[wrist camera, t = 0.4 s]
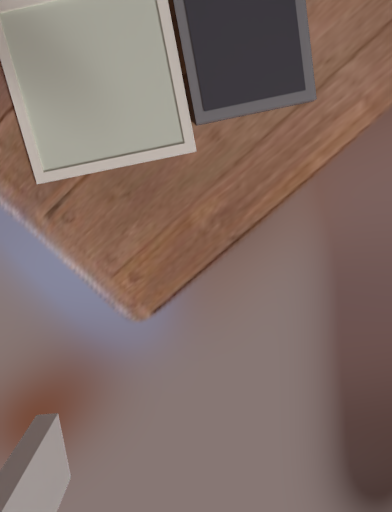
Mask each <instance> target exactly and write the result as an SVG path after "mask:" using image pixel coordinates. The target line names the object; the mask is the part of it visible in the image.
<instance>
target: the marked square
mask: <svg viewBox="0 0 392 512" xmlns="http://www.w3.org/2000/svg"><path fill="white" fill-rule="evenodd" d="M0 60H1V64H2V67H3V70H4V74H5V77H6V81H7V84H8V87H9V91H10V94H11V98H12V101H13V104H14V108H15V111H16V115H17V118H18V121H19V125H20V128H21V132H22V135H23V138H24V142H25V145H26V149H27V152H28V155H29V159H30V162H31V166H32V169H33V173H34V176H35V179H36V183H37V184H42V183H47V182H51V181H56V180H61V179H66V178H71V177H76V176H80V175H85V174H90V173H95V172H100V171H105V170H110V169H114V168H119V167H124V166H129V165H134V164H139V163H144V162H148V161H153V160H158V159H163V158H168V157H173V156H177V155H182V154H187V153H192V152H196V146H195V141H194V135H193V130H192V125H191V120H190V114H189V109H188V104H187V99H186V93H185V88H184V83H183V77H182V72H181V67H180V62H179V56H178V51H177V46H176V41H175V35H174V30H173V25H172V20H171V14H170V9H169V4H168V0H0Z"/></svg>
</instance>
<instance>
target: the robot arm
mask: <svg viewBox="0 0 392 512" xmlns="http://www.w3.org/2000/svg"><path fill="white" fill-rule="evenodd" d="M70 478H71V476H70V471H69V465H68V461H67V456H66V451H65V446H64V441H63V436H62V431H61V426H60V421H59V416H58V414H57V413H56V414H43V415H36V417H35V418H34V420H33V421H32V423H31V425H30V426H29V428H28V429H27V431H26V432H25V434H24V435H23V437H22V439H21V440H20V441H19V443H18V444H17V446H16V447H15V449H14V450H13V452H12V453H11V455H10V456H9V458H8V459H7V461H6V463H5V464H4V466H3V467H2V469H1V470H0V512H57V510H58V508H59V505H60V503H61V500H62V498H63V495H64V493H65V491H66V488H67V486H68V483H69V481H70Z"/></svg>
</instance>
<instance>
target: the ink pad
mask: <svg viewBox="0 0 392 512" xmlns="http://www.w3.org/2000/svg"><path fill="white" fill-rule="evenodd" d="M173 2H174V8H175V13H176V18H177V24H178V29H179V34H180V40H181V45H182V51H183V56H184V61H185V67H186V72H187V77H188V83H189V88H190V93H191V99H192V104H193V109H194V115H195V120H196V125H202V124H207V123H211V122H216V121H221V120H226V119H231V118H235V117H240V116H245V115H250V114H254V113H259V112H264V111H269V110H274V109H278V108H283V107H288V106H293V105H298V104H302V103H307V102H312V101H314V100H316V90H315V81H314V72H313V63H312V54H311V45H310V36H309V27H308V18H307V10H306V1H305V0H173Z"/></svg>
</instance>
